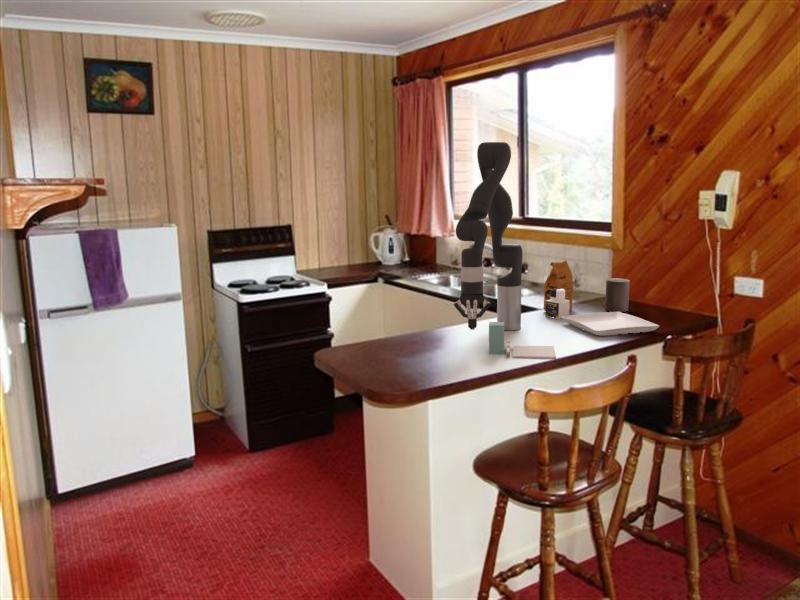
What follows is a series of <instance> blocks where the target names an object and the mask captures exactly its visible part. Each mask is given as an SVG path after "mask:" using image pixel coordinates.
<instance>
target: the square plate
mask: <svg viewBox="0 0 800 600" xmlns="http://www.w3.org/2000/svg"><path fill="white" fill-rule="evenodd" d="M561 319H562V320H563V321H564V322H565V323H567V324H570V325H572V326H573V327H575V326H576V327H575V328H577V327H579V328H581V329H580V330H582V329H584V330H586V331H585V332H587V331H588V333H589V332H591V333H590V334H592V333H593V334H592V335H594V334H595V335H594V336H598V335H599V336H601V337H608V336H607V335H612V336H619V335H618V334H622V335H629V334H628V333H633V334H641V333H640V332H642V333H648V332H653V331H655V330H657V329H659V327H660V325H659V324H656V323H654V322H651V321H649V320H645V319H643V318H641V317H638V316H636V315H635V316H634V315H632V314H629V313H622V312H607V311H605V312H604V311H603V312H589V313H581V314H580V313H579V314H569V316H561ZM579 328H578V329H579ZM584 330H583V331H584ZM599 336H598V337H599Z"/></svg>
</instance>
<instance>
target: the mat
mask: <svg viewBox="0 0 800 600" xmlns="http://www.w3.org/2000/svg"><path fill="white" fill-rule="evenodd" d="M512 358H513V359H545V358H552V359H551V360H553V359H555V360H556V359H557V355H556V351H555V347H554V345H519V344H517V345H515V344H514V345H512Z"/></svg>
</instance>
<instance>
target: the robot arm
mask: <svg viewBox="0 0 800 600" xmlns="http://www.w3.org/2000/svg"><path fill="white" fill-rule="evenodd" d="M476 157H477V163H478V167H479V172H480V176H481V181H482V182H481V183H479V184H478V185H477V187H476V188H475V189H474V191H473V193H472V195H471V198H470V201H469V204H468V207H467V209H466V210H465V212H464V213H463V214H462V216H461V218H460V219H459V220H458V222H457V224H456V227H455V235H456V238H457V239H458V240H459V241H463V242H473V245H472V247H468V248H463V249H462V251H461V269H460V297H459V299H458V300H457V301H455V302H454V303H453V307H455V309H456V310H457V311H458V312H459V314H460V315H461V316H462V317H463V318H466V319H467V326H468V327H467V328H468V329H469V330H471V331H472V330H475V329H476V328H477V326H478V324H477V323H478V322H477V321H478V319H479V318H482V317H483V315H484V314H485V312H486V311H487V310H488V309H489V308H490V307H491V304H492V303H491V302H490V301H487V299H486V297H485V295H484V268H483V253H484V248H485V245H486V241H487V237H488V233H489V231H488V230H489V228H488V225H487V223H486V222H485V221H484V219H486V218H487V217H488V222H489V227H490V236H491V249H492V258H493V263H494V265H495V266H496V267H497V268H503V269H504V268H507V269H511V271H510V272H509V273H508V274H505V275H500V276H499V277H497V280H496V283H497V284H496V285H497V286H496V289H497V290H496V292H497V296H496V298H497V301H496V302H497V303H496V304H497V305H496V316H497V317H496V318H497V319H496V322H504V331H516V330H517V331H518V330H520V329H521V328H522V324H521V323H522V322H521V321H522V272H523V270H522V269H523V268H522V267H523V255H524V253H523V247H522V245H521V244H518V243H504V242H503V240H502V239H503V235H504V233H505V231H506V229H507V227H509V224H510V223H511V222H512V218H513V215H514V211H513V202H512V198H511V196H510V193H509V192H508V191H507V190H506V188H505V187H504V186H503V185H502V184H501V182H502V180H503V178H504V176H505V174H506V172H507V170H508V168H509V166H510V162H511V160H512V159H511V158H512V148H511V146H510V144H509V143H508V142H505V141H504V142H503V141H489V142H488V141H486V142H481V143H480V144H479V145H478V147H477V154H476ZM462 305H463V306H464V308H466V310H464V308H463V307H462ZM481 306H483V307H482V308H481V310H480V311H479V312H478V309H479V308H480V307H481ZM472 310H473V311H472Z"/></svg>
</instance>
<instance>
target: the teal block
mask: <svg viewBox="0 0 800 600" xmlns="http://www.w3.org/2000/svg"><path fill="white" fill-rule="evenodd" d="M488 354H489V355H504V354H505V330H504V322H497V321H489V323H488Z"/></svg>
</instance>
